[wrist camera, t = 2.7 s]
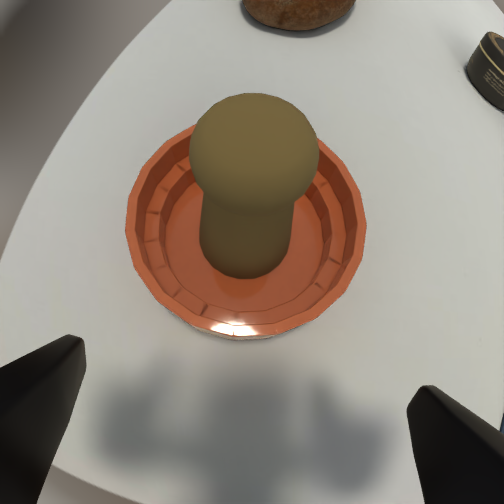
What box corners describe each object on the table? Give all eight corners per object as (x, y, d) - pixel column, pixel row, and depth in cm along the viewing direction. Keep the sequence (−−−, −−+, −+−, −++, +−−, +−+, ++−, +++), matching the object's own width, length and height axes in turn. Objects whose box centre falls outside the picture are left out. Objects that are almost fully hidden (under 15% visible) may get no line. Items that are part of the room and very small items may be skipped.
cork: (287, 284, 20) (342, 210, 10) (192, 273, 20) (154, 188, 10) (292, 199, 22) (334, 84, 12) (206, 189, 22) (192, 67, 12)
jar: (468, 57, 33) (489, 24, 26) (516, 99, 32) (541, 70, 24) (457, 77, 31) (482, 38, 23) (512, 127, 29) (543, 94, 22)
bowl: (276, 380, 19) (289, 387, 15) (107, 263, 21) (81, 241, 16) (370, 215, 23) (396, 186, 19) (220, 128, 25) (219, 88, 20)
